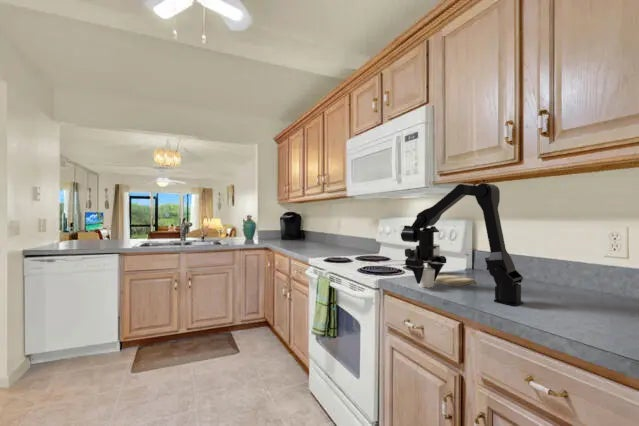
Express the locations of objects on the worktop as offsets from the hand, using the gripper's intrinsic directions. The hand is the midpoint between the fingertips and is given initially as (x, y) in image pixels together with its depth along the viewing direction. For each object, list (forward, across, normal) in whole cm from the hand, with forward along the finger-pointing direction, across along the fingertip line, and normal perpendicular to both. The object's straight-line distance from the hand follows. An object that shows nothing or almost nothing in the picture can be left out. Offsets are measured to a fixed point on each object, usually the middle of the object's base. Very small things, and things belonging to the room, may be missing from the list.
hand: (426, 282), depth 126 cm
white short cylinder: (+2, 0, 0) cm, 2 cm away
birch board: (+2, -16, 0) cm, 16 cm away
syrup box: (+2, -25, -16) cm, 30 cm away
